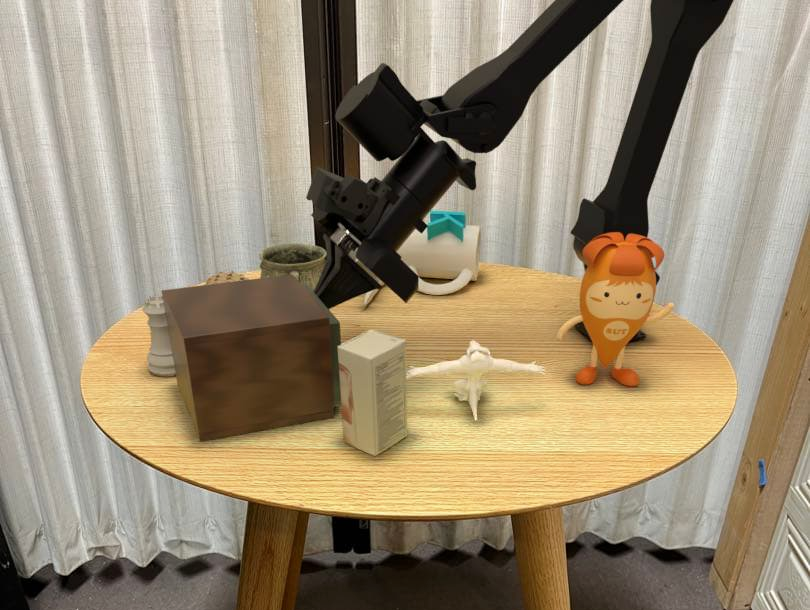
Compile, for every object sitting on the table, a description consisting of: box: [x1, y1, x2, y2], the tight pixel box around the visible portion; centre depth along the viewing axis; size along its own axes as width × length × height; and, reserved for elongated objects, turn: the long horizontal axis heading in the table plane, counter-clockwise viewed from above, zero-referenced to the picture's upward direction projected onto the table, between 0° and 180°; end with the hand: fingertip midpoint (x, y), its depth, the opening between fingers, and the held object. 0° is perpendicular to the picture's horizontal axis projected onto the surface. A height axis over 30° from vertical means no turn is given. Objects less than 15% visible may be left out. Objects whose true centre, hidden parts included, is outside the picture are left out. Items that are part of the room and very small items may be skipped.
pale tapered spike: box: [363, 280, 385, 306], centre depth 112 cm, size 15×3×2 cm, turn 172°
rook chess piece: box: [142, 294, 176, 377], centre depth 90 cm, size 4×4×8 cm
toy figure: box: [555, 232, 675, 387], centre depth 88 cm, size 12×8×15 cm
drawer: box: [301, 283, 342, 407], centre depth 84 cm, size 14×11×9 cm
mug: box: [397, 210, 482, 296], centre depth 113 cm, size 12×9×12 cm
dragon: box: [406, 339, 548, 421], centre depth 83 cm, size 15×7×8 cm, turn 96°
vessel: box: [258, 242, 327, 292], centre depth 107 cm, size 12×9×6 cm
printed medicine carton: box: [338, 329, 408, 457], centre depth 77 cm, size 5×4×10 cm
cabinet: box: [161, 274, 335, 442], centre depth 83 cm, size 14×13×11 cm
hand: (311, 311), depth 88 cm, fingers closed, pressing on drawer
